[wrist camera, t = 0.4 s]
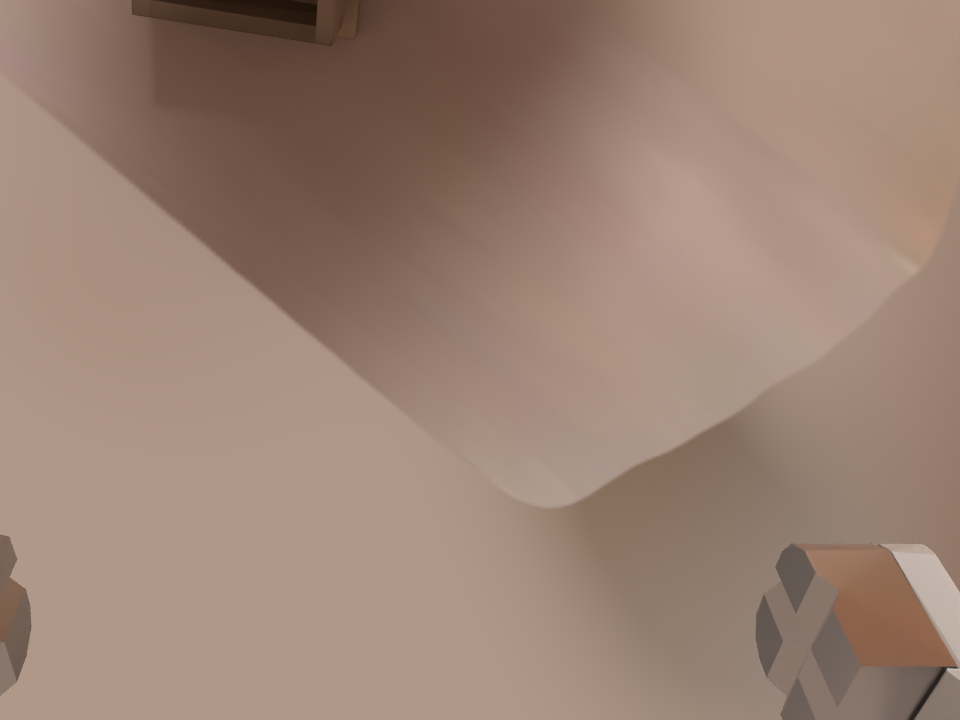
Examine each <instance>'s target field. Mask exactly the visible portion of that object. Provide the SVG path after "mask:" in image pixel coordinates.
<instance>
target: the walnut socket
mask: <svg viewBox="0 0 960 720" xmlns="http://www.w3.org/2000/svg"><path fill="white" fill-rule="evenodd" d="M358 11H359V0H132V15H139V16H145V17H151V18H158V19H164V20H171V21H177V22H183V23H190V24H196V25H202V26H209V27H215V28H221V29H228V30H234V31H240V32H247V33H253V34H259V35H266V36H272V37H278V38H285V39H291V40H297V41H304V42H310V43H316V44H323V45H329V46H332V44H333V42H334V40H335V38H336V37H341V38H348V39H354V40H355V38H356V35H357V23H358Z"/></svg>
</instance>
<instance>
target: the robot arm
mask: <svg viewBox="0 0 960 720" xmlns="http://www.w3.org/2000/svg"><path fill="white" fill-rule="evenodd" d="M16 561H17V558H16V555H15V552H14V549H13V546H12V543H11V540H10V537H8V536H4V535H0V695H1V694H3V693H4V692H5V691H6V690H8V689H9V688H10V687H11V686H12V685H14V684H15V683H16V682H17V680H18V677H19V675H20V672H21V669H22V666H23V664H24V661H25V658H26V655H27V649H28V643H29V637H30V631H31V612H30V603H29V600H28V596H27V592H26V589H25V588H23V587H22V586H21V585H19V584H18V583H17V582H15V581H14V580H12V579H11V578H10V575H11V572H12V570H13V568H14V565H15V563H16ZM776 570H777V572H778V574H779V577H780V579H781V582H780V583H778V584H777V585H776V586H774V587H773V588H771V589H770V590H769V591H767V592H766V593H764V595H763V598H762V600H761V603H760V606H759V609H758V611H757V614H756V643H757V648H758V653H759V658H760V661H761V664H762V666H763V669H764V672H765V675H766V677H767V679H769V680H770V681H771V682H772V683H773V684H774V685H775V686H776V687H778V688H779V689H780V690H781V691H782V692H783V693H785V694H786V695H787V697H786V700H785V703H784V706H783V709H782V712H781V717H782V719H783V720H960V592H959V591H958V589H957V588H956V586H955V584H954V583H953V581H952V580H951V578H950V577H949V575H948V574H947V572H946V571H945V569H944V567H943V566H942V564H941V563H940V561H939V559H938V558H937V556H936V555H935V554H934V552H932V551H931V550H930V549H929V548H927V547H926V546H924V545H923V544H878V545H874V544H790V545H789V546H788V547H787V548H786V549H784V550H783V551H782V553H781V555H780V558H779V560H778V562H777V564H776Z"/></svg>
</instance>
